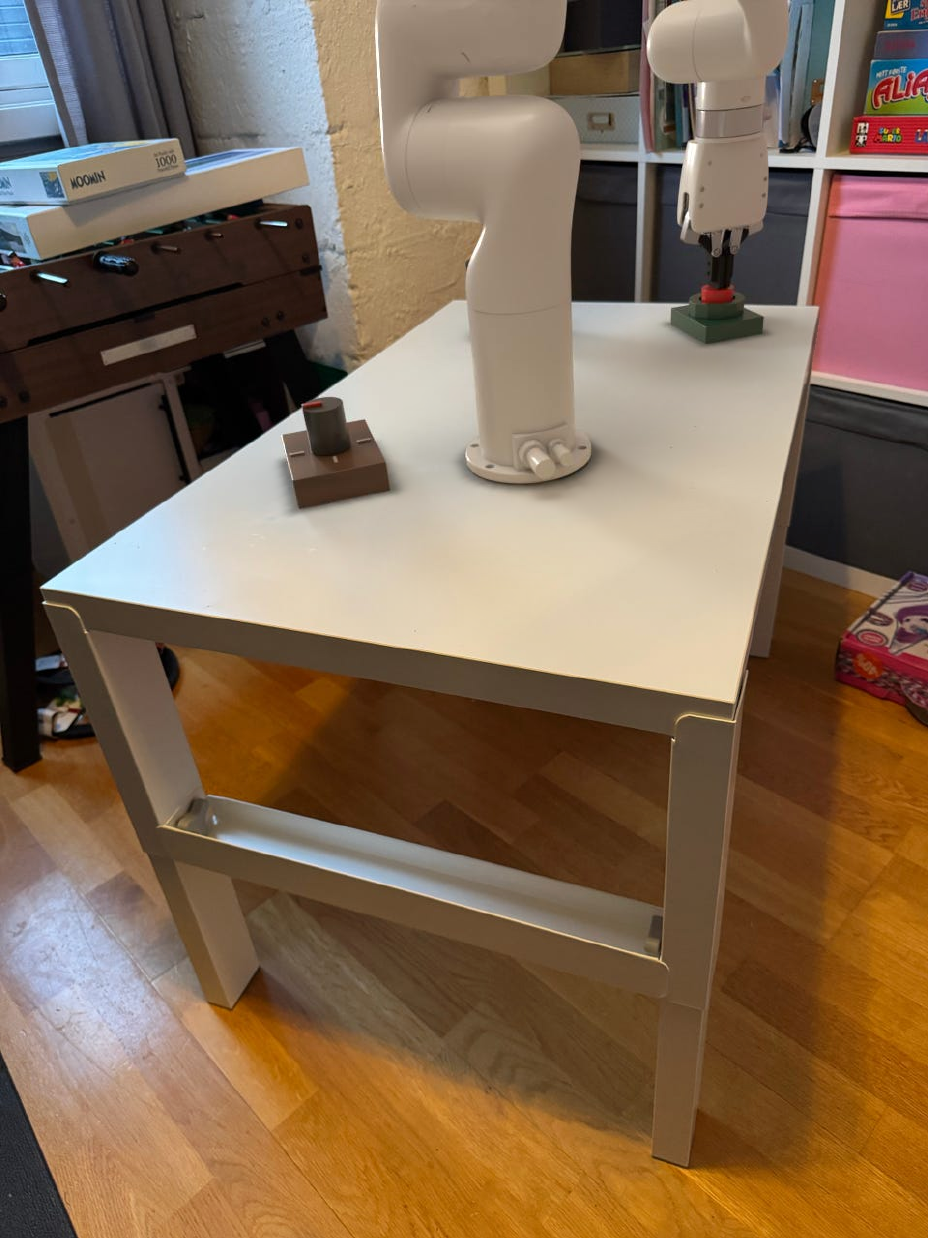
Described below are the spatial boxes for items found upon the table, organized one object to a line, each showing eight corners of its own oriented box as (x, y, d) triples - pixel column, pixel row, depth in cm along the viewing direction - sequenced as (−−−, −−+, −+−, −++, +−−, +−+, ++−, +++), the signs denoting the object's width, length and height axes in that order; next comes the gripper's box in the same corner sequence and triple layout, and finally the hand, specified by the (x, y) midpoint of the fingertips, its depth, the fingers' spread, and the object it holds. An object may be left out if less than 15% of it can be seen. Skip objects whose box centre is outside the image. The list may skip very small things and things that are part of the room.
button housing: (762, 333, 113) (765, 301, 111) (705, 344, 112) (707, 312, 109) (723, 314, 121) (725, 284, 119) (670, 324, 120) (671, 294, 118)
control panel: (390, 490, 86) (385, 460, 84) (298, 508, 84) (291, 478, 83) (369, 444, 95) (364, 417, 94) (286, 460, 94) (280, 433, 92)
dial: (347, 436, 90) (339, 390, 87) (353, 450, 87) (345, 404, 84) (308, 443, 89) (299, 398, 87) (313, 458, 86) (303, 412, 84)
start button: (738, 302, 113) (739, 287, 112) (710, 307, 112) (710, 293, 111) (723, 294, 116) (724, 281, 115) (695, 299, 116) (696, 286, 115)
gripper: (769, 113, 107) (755, 270, 118) (655, 130, 105) (652, 289, 115) (804, 117, 101) (786, 282, 112) (684, 135, 99) (678, 302, 109)
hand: (718, 285), depth 113 cm, fingers closed
